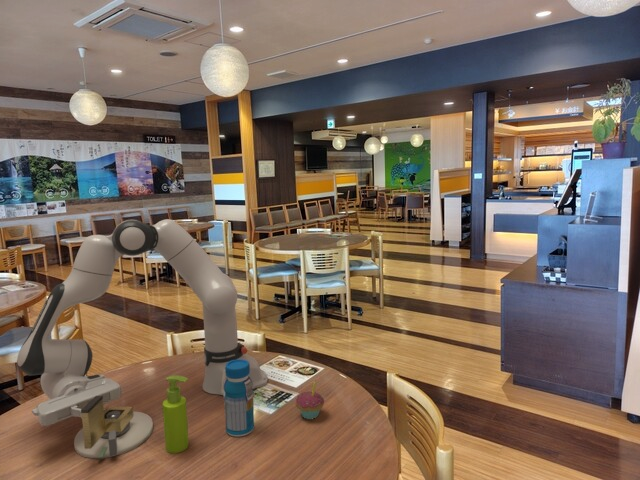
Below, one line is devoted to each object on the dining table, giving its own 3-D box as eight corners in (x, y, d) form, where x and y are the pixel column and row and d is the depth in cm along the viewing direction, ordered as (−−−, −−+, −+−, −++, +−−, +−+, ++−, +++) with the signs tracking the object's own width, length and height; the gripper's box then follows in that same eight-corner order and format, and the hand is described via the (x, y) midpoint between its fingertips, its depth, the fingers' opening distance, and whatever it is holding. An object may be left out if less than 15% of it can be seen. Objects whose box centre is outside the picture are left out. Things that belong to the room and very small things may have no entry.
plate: (161, 414, 131) (160, 396, 130) (136, 461, 110) (134, 439, 109) (94, 417, 130) (93, 399, 129) (55, 465, 108) (53, 444, 107)
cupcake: (328, 411, 132) (328, 375, 130) (316, 426, 124) (316, 387, 122) (303, 405, 135) (302, 370, 134) (290, 419, 128) (289, 382, 126)
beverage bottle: (229, 441, 118) (226, 372, 115) (221, 425, 125) (218, 361, 122) (258, 432, 121) (256, 366, 118) (249, 418, 129) (247, 355, 126)
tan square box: (134, 421, 125) (133, 405, 124) (123, 438, 117) (122, 421, 116) (106, 423, 124) (104, 407, 124) (93, 439, 116) (92, 423, 116)
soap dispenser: (185, 455, 112) (180, 383, 109) (161, 451, 113) (156, 381, 110) (196, 441, 118) (191, 373, 115) (173, 438, 119) (168, 371, 116)
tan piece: (107, 416, 124) (104, 378, 122) (133, 416, 124) (130, 378, 122) (73, 454, 107) (68, 410, 106) (103, 454, 107) (99, 410, 105)
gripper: (28, 398, 113) (45, 417, 104) (107, 371, 128) (128, 386, 119) (31, 420, 114) (48, 441, 105) (109, 391, 129) (130, 407, 120)
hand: (91, 411), depth 112 cm, fingers closed
